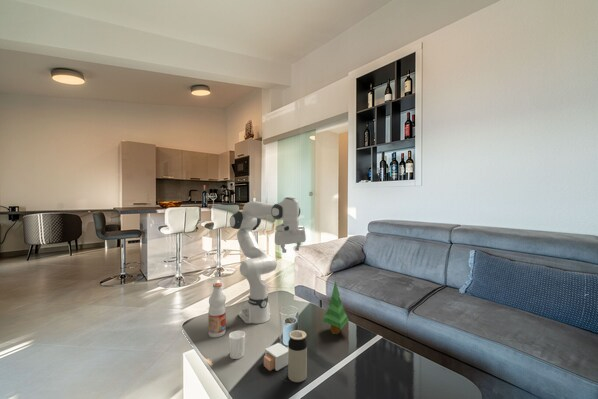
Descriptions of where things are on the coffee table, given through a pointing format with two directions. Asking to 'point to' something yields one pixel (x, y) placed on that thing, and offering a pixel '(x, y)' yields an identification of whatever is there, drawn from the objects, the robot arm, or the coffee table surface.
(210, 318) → the fruit juice
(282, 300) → the coffee table surface
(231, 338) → the white cup
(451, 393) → the coffee table surface
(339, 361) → the coffee table surface
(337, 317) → the decorative tree
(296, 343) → the travel mug
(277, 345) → the tunnel
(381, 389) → the coffee table surface
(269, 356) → the block
